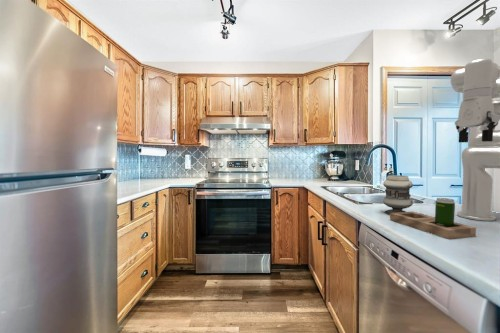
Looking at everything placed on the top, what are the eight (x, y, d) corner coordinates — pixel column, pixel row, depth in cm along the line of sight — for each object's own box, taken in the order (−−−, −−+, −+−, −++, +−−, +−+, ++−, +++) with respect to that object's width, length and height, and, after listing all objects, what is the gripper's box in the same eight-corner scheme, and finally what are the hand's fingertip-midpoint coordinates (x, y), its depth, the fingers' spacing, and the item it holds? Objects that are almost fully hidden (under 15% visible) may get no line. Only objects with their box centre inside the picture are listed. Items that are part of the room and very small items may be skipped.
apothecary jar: (378, 210, 121) (379, 174, 120) (404, 211, 119) (405, 174, 118) (388, 216, 109) (390, 176, 108) (417, 217, 107) (419, 177, 106)
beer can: (450, 235, 83) (451, 201, 83) (431, 231, 88) (433, 198, 87) (456, 232, 86) (457, 199, 86) (437, 228, 91) (439, 197, 90)
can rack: (389, 220, 103) (390, 213, 103) (412, 218, 106) (412, 211, 106) (448, 239, 80) (449, 230, 79) (475, 236, 82) (476, 227, 82)
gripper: (447, 100, 97) (446, 142, 99) (489, 89, 80) (486, 141, 81) (466, 100, 97) (464, 142, 98) (512, 89, 80) (509, 140, 81)
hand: (474, 141), depth 90 cm, fingers open, 9 cm apart
